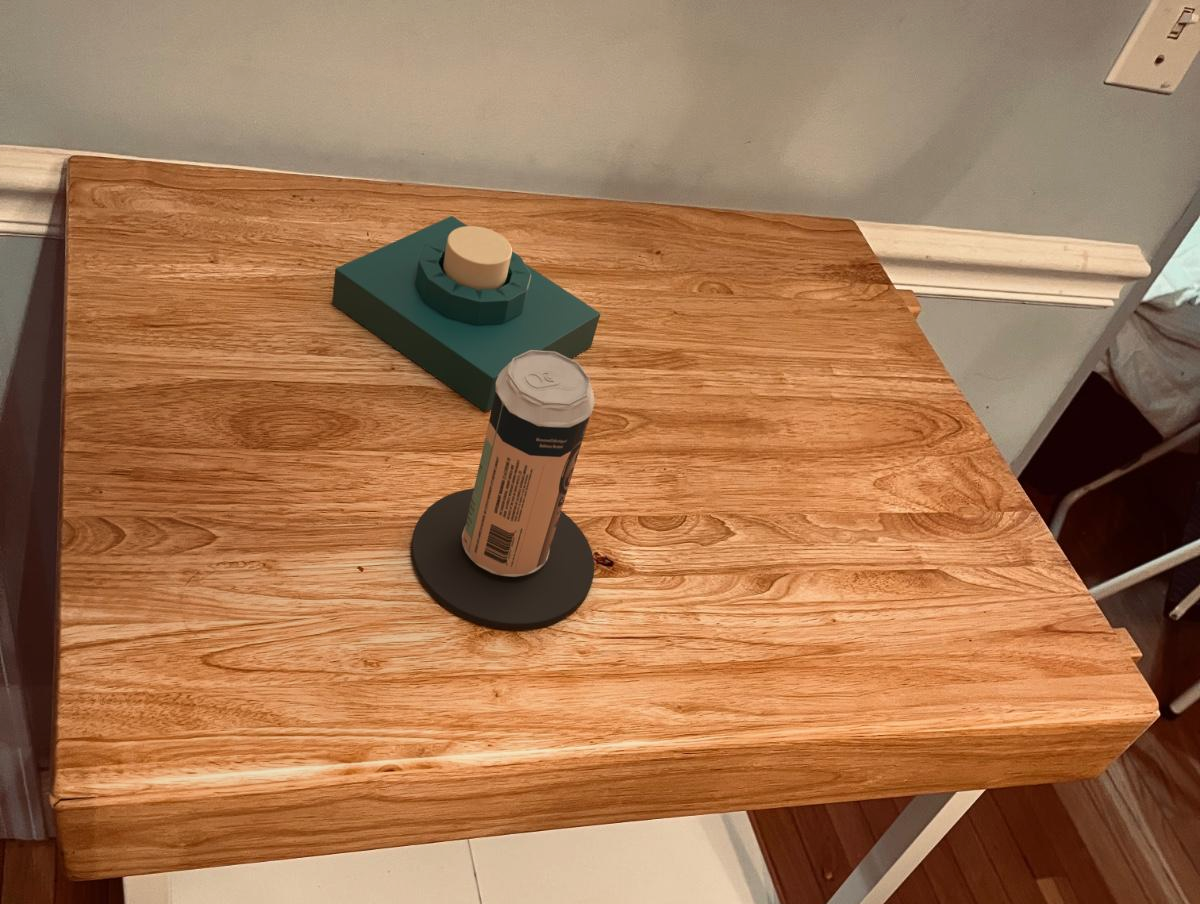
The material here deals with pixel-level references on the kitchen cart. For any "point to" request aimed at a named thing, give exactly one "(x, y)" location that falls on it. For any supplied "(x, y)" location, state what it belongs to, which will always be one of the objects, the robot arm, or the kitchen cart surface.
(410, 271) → the push button base
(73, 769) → the kitchen cart surface
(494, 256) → the button
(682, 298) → the kitchen cart surface
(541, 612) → the coaster
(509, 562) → the beer can
